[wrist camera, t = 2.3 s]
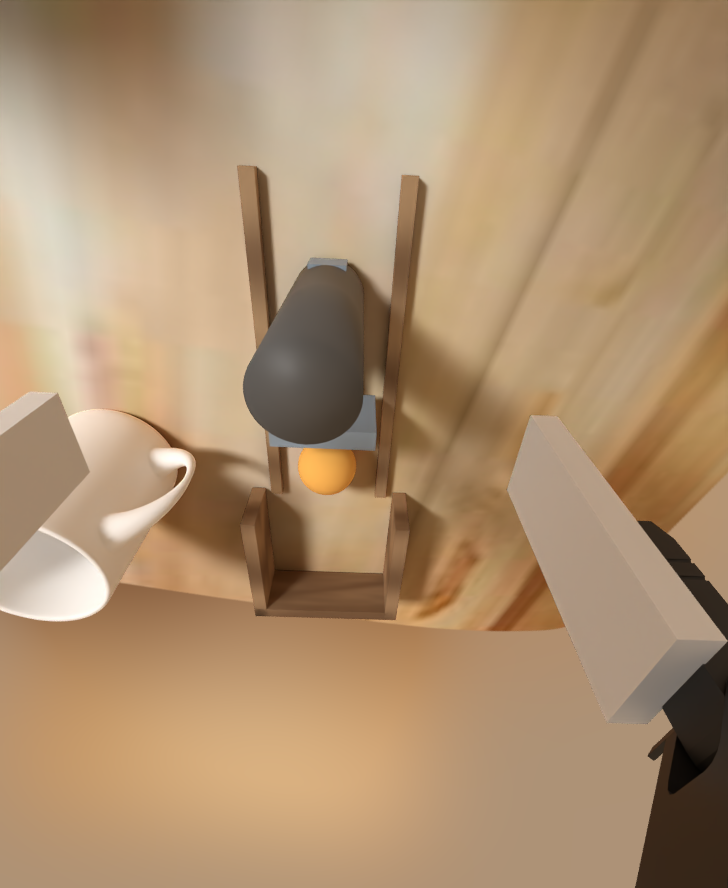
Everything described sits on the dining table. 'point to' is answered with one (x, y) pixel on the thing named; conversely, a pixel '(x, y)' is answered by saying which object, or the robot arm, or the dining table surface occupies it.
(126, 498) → the mug
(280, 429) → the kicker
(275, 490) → the lane
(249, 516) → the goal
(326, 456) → the ball
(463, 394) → the dining table surface
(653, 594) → the robot arm
